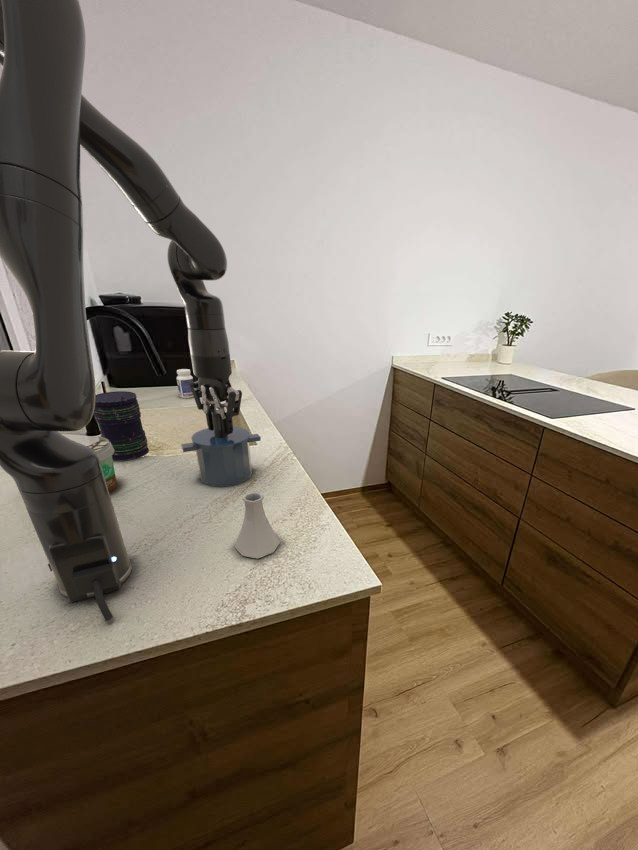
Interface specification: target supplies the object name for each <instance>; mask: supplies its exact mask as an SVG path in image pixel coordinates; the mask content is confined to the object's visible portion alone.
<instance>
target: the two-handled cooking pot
mask: <svg viewBox="0 0 638 850" xmlns="http://www.w3.org/2000/svg"><path fill="white" fill-rule="evenodd" d="M255 442H261V436H260V435H259V434H258V433H252V434H250V438H249V439H248V440H247V441H245V442H243V443H241V444H238V445H235V446H230V447H223V448H207V447H201V446H198V445H196V444H194V443H193V442H187V443H182V444H181V449H182V452H183V453H188V452H194V451H195V453H196V460H197V466H198V471H199V476H200V481H201V482H203V483H204V484H206V485H207V486H212V487H218V488H219V487H222V488H223V487H232V486H236V485H239V484H242V483H244V482H246V481H247V480H249V479H250V478H251V477H252V474H253V473H252V472H253V469H252V467H253V465H252V457H251V447H250V443H255Z"/></svg>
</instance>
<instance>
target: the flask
mask: <svg viewBox="0 0 638 850" xmlns="http://www.w3.org/2000/svg"><path fill="white" fill-rule="evenodd" d="M264 499H265V495H263V494H262V493H261V492H257V491H251V492H248V493H246V494H244V496H242V501H243V502H244V516H243V517H244V518H243V520H242V524H241V527H240V530H239V534H238V537H237V539H236V543H235V546H234V548H235V549H236V550H237V551H238V552H239V554H240V555H241V557H247V558H253V559H257V560H259V559H260V558H263V557H266V556H268V555H270V554H273V553H274V552H275V551H276V550H277V547H279V545H280V544H281V541H280V539H279V537H278V536H277V534H276V532H275V531H274V528H273V527H272V525H271V523H270V521H269V519H268V517H267V516H266V512H265V509H264V506H263V505H264V503H263V501H264Z"/></svg>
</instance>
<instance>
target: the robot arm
mask: <svg viewBox="0 0 638 850" xmlns="http://www.w3.org/2000/svg"><path fill="white" fill-rule="evenodd" d="M85 59H86V27H85V22H84V16H83V11H82V7H81V3H80V1H79V0H0V65H1V66H2V68H1V69H2V70H1V75H0V259H1V260H2V262H3V263H4V265H5V267H7V268H8V271H10V273H11V274H12V276H13V277H14V279H15V280H16V282H17V283H18V284H19V286H20V288H21V290H22V291H23V293H24V295H25V297H26V299H27V301H28V304H29V307H30V310H31V314H32V315H31V316H32V320H33V327H34V338H35V350H34V351H30V350H28V351H27V350H23V351H22V350H0V467H1V469H2V470H3V471H4V472H6V474H7V475H9V476H10V477H11V478H12V479H13V481H14V482H15V485H16V487H17V491H18V492H19V494H20V496H21V499H22V502H23V504H24V505H25V509H26V511H27V513H28V516H29V519H30V521H31V523H32V525H33V528H34V530H35V533H36V535H37V538H38V540H39V542H40V545H41V547H42V550H43V552H44V554H45V557H46V559H47V561H48V564H47V567H48V568H49V571H50V572H52V573H53V575H54V578H55V579H56V582H57V587H58V589H59V592H60V593H61V595H63V596H64V597H66V598H68V601H69V603H75V602H78V601H82V600H86V599H89V598H94V599H95V601H96V604H97V606H98V608H99V611H100V613H101V615H102V616H103V618H104V620H105V622H107V621H109V620H111V619H113V618H114V616H113V614H112V612H111V610H110V608H109V606H108V603H107V602H106V599H105V596H104V594H107V593H111V592H114V591H115V592H116V591H118V590H120V589H121V587H122V586H121V585H122V584H123V583H124V582H125V581H126V580H127V579H128V578H129V576H130V575H131V573H132V571H133V566H132V565H133V564H132V561H131V559H130V558H129V553H128V551H127V547H126V545H125V541H124V538H123V535H122V532H121V528H120V524H119V522H118V521H119V520H118V518H117V515H116V511H115V508H114V505H113V502H112V499H111V495H110V494H111V493H109V491H108V488H107V484H106V481H105V477H104V474H103V471H102V467H101V463H100V460H99V457H98V455H97V453H96V452H95V451H94V450H93V449H91V448H89V447H87V446H88V445H85V444H82V443H80V442H77V441H74V440H72V439H70V438H68V437H67V436H65V435H63V434H62V433H61V432H76V431H80V430H83V429H84V428H85V427H87V426H88V425H89V423H90V422H91V420H92V419H93V416H94V409H95V401H96V395H97V393H96V392H97V391H96V380H95V378H96V377H95V371H94V363H93V356H92V349H91V343H90V334H89V325H88V317H87V308H86V297H85V295H86V294H85V274H84V273H85V272H84V213H83V212H84V211H83V209H84V208H83V197H82V180H81V148H82V150H84V151H85V152H86V154H87V155H88V156H89V157H90V158H91V159H92V160H93V161H94V162H95V163H96V164H97V165H98V166H99V168H100V169H101V170H102V171H103V172H104V173H105V174H106V175H107V176H108V178H109V179H110V180H111V181H112V182H113V183H114V185H115V186H116V187H117V188H118V190H119V191H120V192H121V193H122V195H123V196H124V197H125V199H126V200H127V201H128V202H129V204H130V205H131V207H132V208H133V209H134V210H135V212H136V213H137V214H138V215H139V216H140V218H141V219H142V220H143V221H144V223H145V224H146V225H147V227H148V228H149V229H150V230H151V231H152V232H153V233H154V234H155V235H157V236H159V237H162V238H164V239H168V240H170V242H169V243H168V247H167V255H166V257H167V264H168V267H169V270H170V274H171V277H172V279H173V281H174V284H175V286H176V289H177V291H178V294H179V296H180V299H181V301H182V303H183V306H184V313H185V320H186V326H187V341H188V347H189V354H190V359H191V365H192V366H191V367H192V372H193V375H194V376H195V377H196V378H198V379H197V380H196V381H193V382H192V383H190V388H191V391H192V393H193V396H194V397H193V399H194V401H195V405H196V407H197V409H198V410H200V411H203V413H204V415H205V419H206V424H207V428H208V429H209V430H211V431H213V430H214V428H213V421H212V414H211V412H212V411H214V410H219V412H220V415H221V418H222V419H221V423H222V431H223V434H224V435H228V434H231V433H232V432H233V426H234V422H233V417H236V416H239V415H240V411H241V403H242V397H243V392H242V390H240V389H237V390H236V389H235V388H233V386H232V383H231V382H230V377H231V375H232V374H233V371H232V362H231V361H232V360H231V353H230V344H229V338H228V333H227V330H226V319H225V312H224V305H223V302H222V300H221V298H220V297H218V296H217V295H215V294H212V293H210V292H209V291H208V289H207V287H206V284H205V282H204V281H211V282H212V281H213V282H214V281H217V280H220V279H222V278H223V277H224V276H225V275H226V273H227V270H228V258H227V254H226V251H225V249H224V247H223V245H222V244H221V241H220V240H219V239H218V238H217V236H216V235H215V234H214V233H213V232H212V231H211V229H210V228H209V227H207V225H206V224H205V223H204V222H203V221H202V220H201V219H200V217H198V216H197V214H195V213H194V212H193V211H192V210H190V208H189V207H188V206H187V205H186V204H185V203H184V201H183V200H182V198H181V196H180V195H179V193H178V192H177V190H176V189H175V187H174V185H173V184H172V182H171V181H170V180H169V178H168V177H167V175H166V173H165V172H164V170H163V169H162V168H161V166H160V165H159V164H158V163H157V161H156V159H154V158H153V157H152V156H151V154H150V153H149V152H148V151H146V149H144V148H143V147H142V146H141V145H140V144H139V143H138V142H136V140H134V139H133V138H132V137H130V136H129V134H127V133H126V132H125V131H123V130H122V129H121V128H119V127H118V126H117V125H116V124H114V123H113V122H112V121H111V120H110V119H108V117H106V116H105V115H104V114H103V113H102V112H101V111H99V110H98V109H97V107H96V106H94V105H93V104H92V103H91V102H90V101H89V100H88V99H87V98H86V97H85V96H84V95H83V80H84V71H85ZM225 409H226V410H225Z"/></svg>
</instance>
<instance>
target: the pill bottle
mask: <svg viewBox="0 0 638 850" xmlns="http://www.w3.org/2000/svg"><path fill="white" fill-rule="evenodd" d="M191 372H192V371H191V369H188V368H181V369H180V368H179V369H177V370H176V374H177V376H176V383H177V389H178V395H179V397H180V398H182V399H191V398H194V396H193V393H192V391H191V388H190V383H192V382H194V377H193V376H192V375H191Z"/></svg>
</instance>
